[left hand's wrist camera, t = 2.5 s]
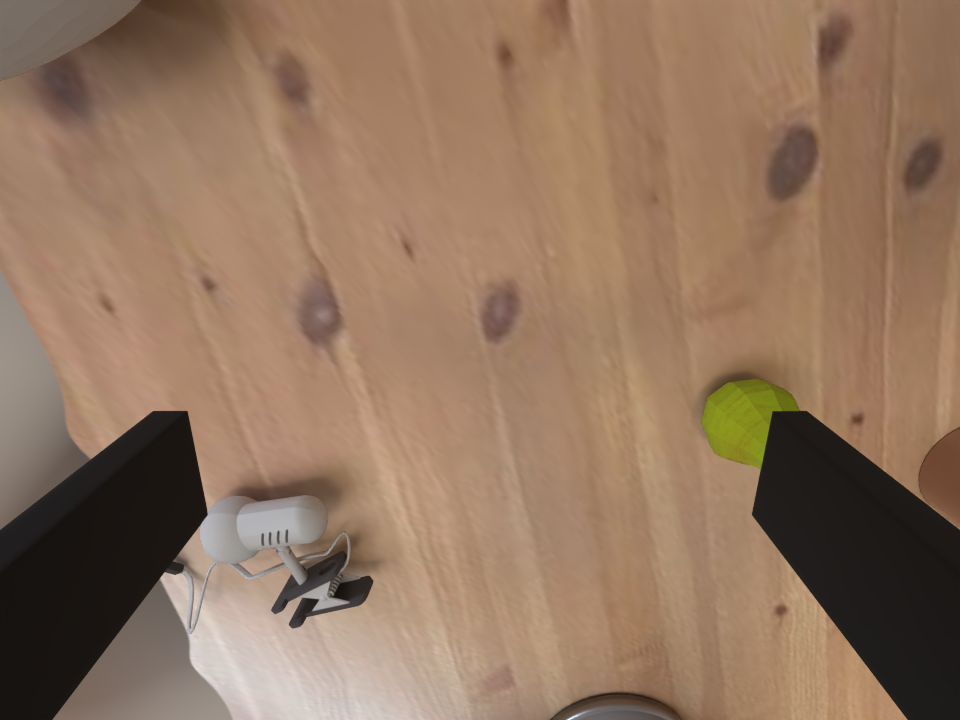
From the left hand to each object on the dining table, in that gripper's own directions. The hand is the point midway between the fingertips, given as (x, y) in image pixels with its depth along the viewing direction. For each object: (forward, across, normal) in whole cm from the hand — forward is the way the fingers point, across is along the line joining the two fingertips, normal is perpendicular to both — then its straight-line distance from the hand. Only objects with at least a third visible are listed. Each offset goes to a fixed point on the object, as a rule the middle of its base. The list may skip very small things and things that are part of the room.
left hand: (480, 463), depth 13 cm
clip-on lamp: (+28, +19, +24) cm, 41 cm away
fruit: (+28, -19, +11) cm, 36 cm away
